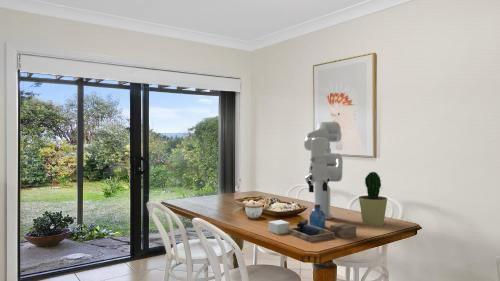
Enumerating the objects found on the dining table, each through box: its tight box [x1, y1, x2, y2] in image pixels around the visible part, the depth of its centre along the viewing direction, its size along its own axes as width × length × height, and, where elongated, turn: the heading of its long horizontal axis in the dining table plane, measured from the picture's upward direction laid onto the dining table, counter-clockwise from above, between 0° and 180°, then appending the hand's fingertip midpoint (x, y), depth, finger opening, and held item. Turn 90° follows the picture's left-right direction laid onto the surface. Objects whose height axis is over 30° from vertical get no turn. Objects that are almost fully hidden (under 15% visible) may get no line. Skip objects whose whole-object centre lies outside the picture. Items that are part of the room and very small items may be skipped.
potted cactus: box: [358, 171, 388, 227], centre depth 208 cm, size 15×15×30 cm
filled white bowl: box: [244, 201, 263, 219], centre depth 226 cm, size 11×11×9 cm
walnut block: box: [329, 222, 357, 240], centre depth 182 cm, size 9×9×5 cm
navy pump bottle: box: [296, 219, 323, 236], centre depth 184 cm, size 9×8×12 cm
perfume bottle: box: [309, 203, 326, 229], centre depth 201 cm, size 6×6×12 cm
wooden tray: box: [287, 224, 336, 243], centre depth 183 cm, size 18×15×2 cm
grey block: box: [267, 219, 291, 235], centre depth 191 cm, size 8×8×5 cm
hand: (318, 191), depth 200 cm, fingers open, 9 cm apart
